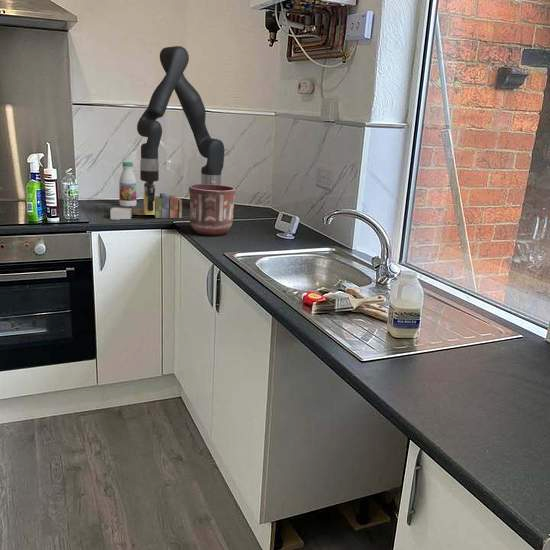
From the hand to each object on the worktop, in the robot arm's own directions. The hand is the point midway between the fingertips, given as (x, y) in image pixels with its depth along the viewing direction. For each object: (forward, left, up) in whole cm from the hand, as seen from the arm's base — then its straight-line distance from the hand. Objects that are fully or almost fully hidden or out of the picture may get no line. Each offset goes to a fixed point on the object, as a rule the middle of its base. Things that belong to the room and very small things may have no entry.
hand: (149, 209), depth 242 cm
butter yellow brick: (0, 0, -2) cm, 2 cm away
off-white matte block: (+12, -1, -4) cm, 12 cm away
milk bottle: (+6, -29, -4) cm, 30 cm away
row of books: (+1, -2, -4) cm, 4 cm away
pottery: (-20, +28, -4) cm, 35 cm away
